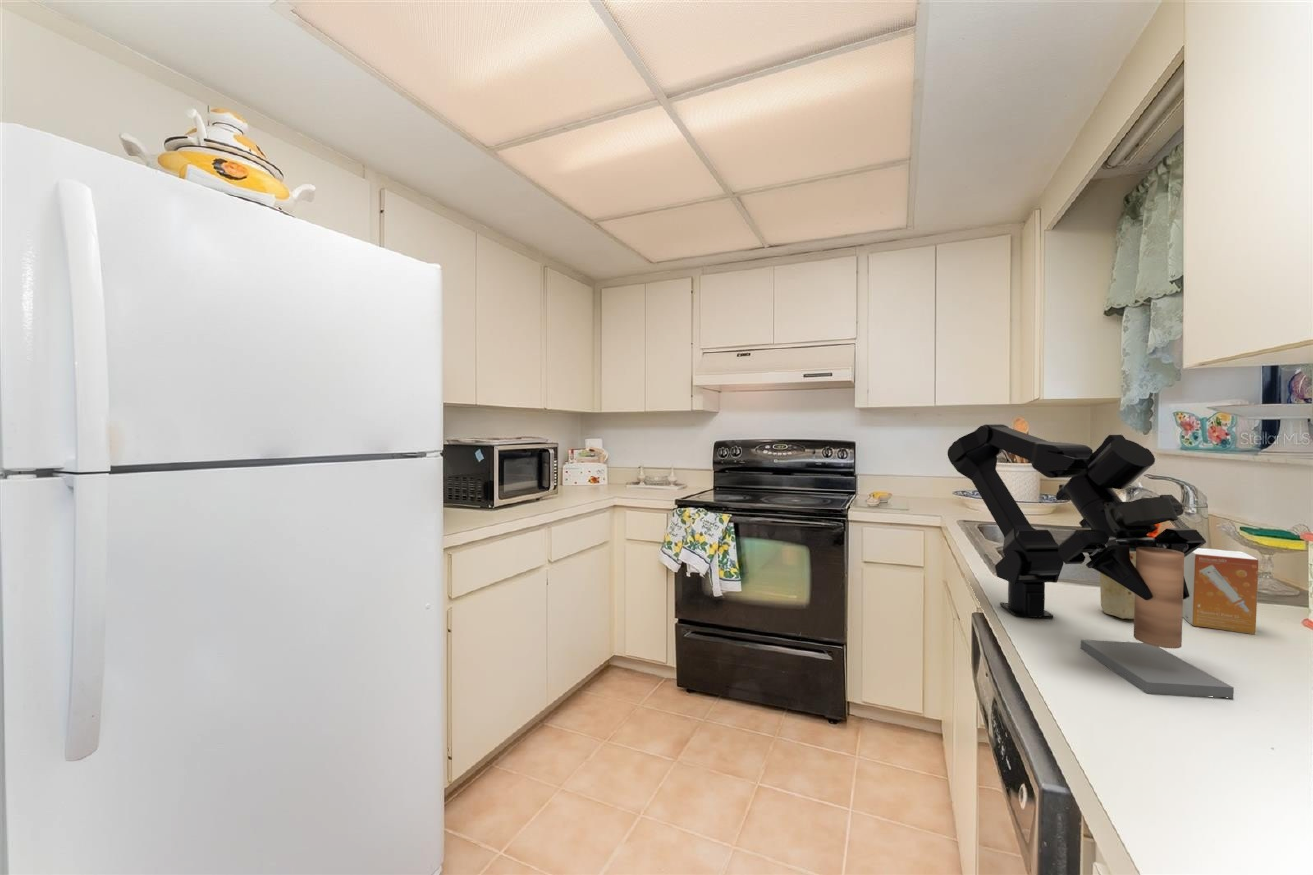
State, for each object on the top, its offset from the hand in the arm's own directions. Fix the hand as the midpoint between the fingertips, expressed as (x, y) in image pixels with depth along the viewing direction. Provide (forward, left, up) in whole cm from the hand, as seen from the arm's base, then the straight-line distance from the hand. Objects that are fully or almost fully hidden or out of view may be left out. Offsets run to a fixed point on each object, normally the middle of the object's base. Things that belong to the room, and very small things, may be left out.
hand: (1167, 598), depth 75 cm
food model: (-27, +11, -12) cm, 31 cm away
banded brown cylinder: (-1, 0, -7) cm, 7 cm away
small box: (-24, +24, -12) cm, 36 cm away
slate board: (-2, -1, -11) cm, 12 cm away
